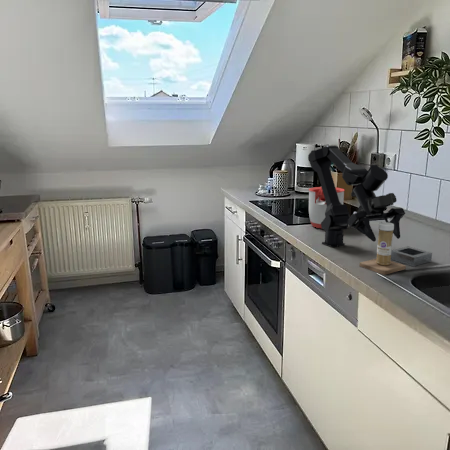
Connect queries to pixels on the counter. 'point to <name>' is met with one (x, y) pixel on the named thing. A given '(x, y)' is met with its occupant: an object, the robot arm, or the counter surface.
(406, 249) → the square collar
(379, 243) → the sprinkles bottle
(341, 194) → the citrus juicer
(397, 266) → the walnut coaster
